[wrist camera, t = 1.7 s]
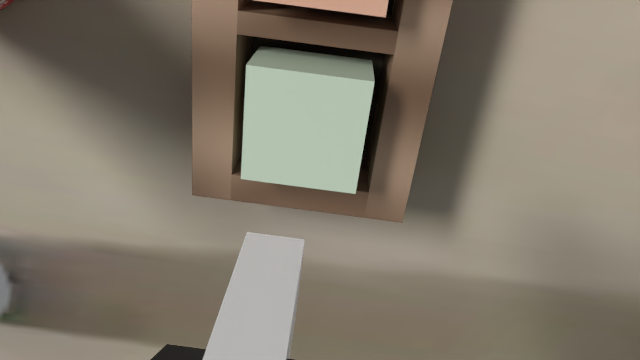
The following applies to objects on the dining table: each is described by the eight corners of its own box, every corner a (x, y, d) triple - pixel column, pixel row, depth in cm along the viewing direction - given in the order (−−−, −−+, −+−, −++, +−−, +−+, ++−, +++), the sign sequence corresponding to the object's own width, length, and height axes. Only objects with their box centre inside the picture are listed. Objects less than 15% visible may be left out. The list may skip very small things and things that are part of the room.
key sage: (260, 45, 24) (246, 65, 21) (372, 60, 24) (374, 81, 21) (254, 147, 27) (240, 179, 23) (355, 161, 27) (355, 193, 23)
